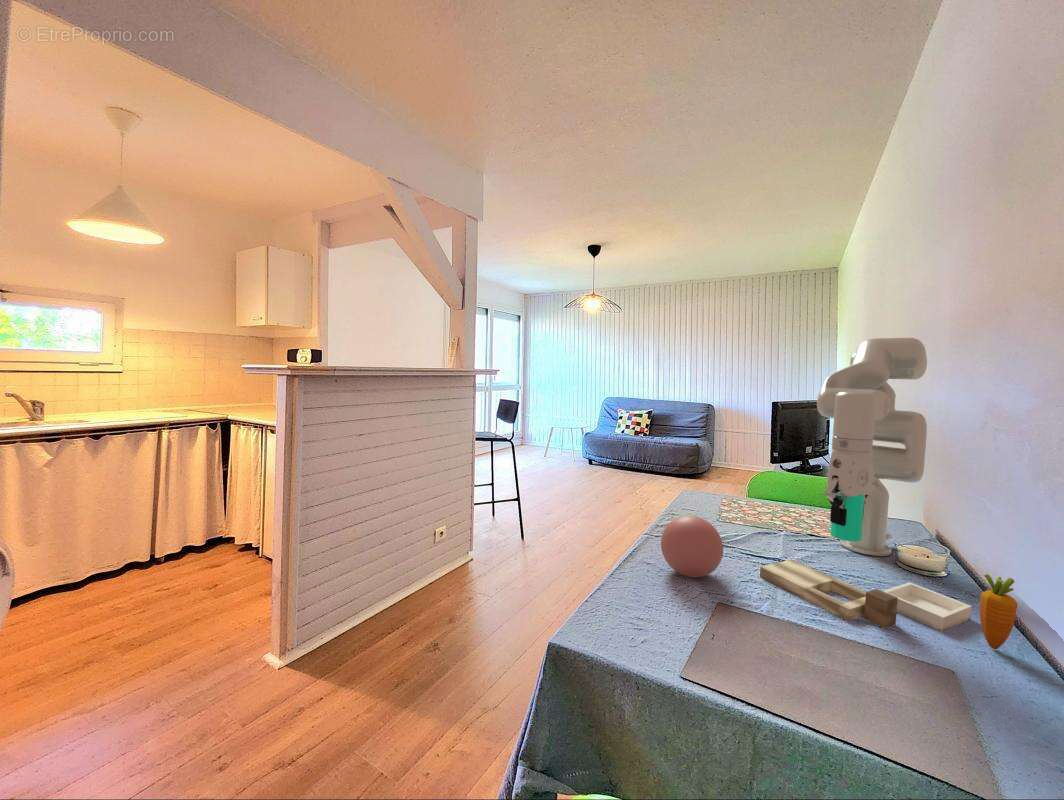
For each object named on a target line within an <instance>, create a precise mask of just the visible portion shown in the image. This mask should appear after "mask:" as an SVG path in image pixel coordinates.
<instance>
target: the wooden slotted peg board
mask: <svg viewBox="0 0 1064 800" xmlns="http://www.w3.org/2000/svg"><path fill="white" fill-rule="evenodd" d="M759 570H760V571H759V577H761V578H762V579H765V580H766V581H769V582H771V583H773V584H774V585H777V586H779V587H781V588H782V589H785V590H787V591H789V592H790V593H792V594H795V595H797V596H799V597H801V598H802V599H805V600H807V601H809V602H810V603H813V604H815V605H816V606H818V607H820V608H822V609H824V610H826V611H828V612H830V613H832V614H835V615H837V616H839V617H840V618H842V619H845V621H850V620H853V619H857V618H860V617H864V611H865V598H866V592H867V591H866V590H863V589H862V588H859V587H857V586H854V585H851V584H849V583H848V582H845V581H842V580H841V579H838V578H836V577H833V576H831V575H829V574H826V573H824V572H822V571H821V570H820V571H819V570H817V569H816V568H815V569H814V568H812V567H810V566H808V565H806V564H803V563H802V562H799V561H797V560H794V559H792V558H791V559H788V560H783V561H780V562H779V561H778V562H776V563H771V564H768V565H763V566H760V569H759ZM829 591H832V592H834V593H836V594H839V595H840V596H843V597H845V598H847V599H849V600H851V601H848V602H844V601H842V600H840V599H837V598H835V597H833V596H830V595H829V594H826V593H827V592H829Z"/></svg>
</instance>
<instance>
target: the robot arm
mask: <svg viewBox="0 0 1064 800" xmlns="http://www.w3.org/2000/svg"><path fill="white" fill-rule="evenodd" d="M927 359H928V358H927V351H926V348H925V345H924V343H923V342H922V341H921V340H920V339H918V338H914V337H879V338H878V337H877V338H870V339H867V340H864V341H861V343H859V345H858V347H857V348H856V351H855V352H854V353H853V354H852V355H851V356H850V362H849V363H850V364H849V366H847V367H844V368H842V369H839V370H838V371H836V372H834V373H832V374H830V375H829V376H827V378H825V380H824V381H823V384H822V385H821V388H820V390H819V393H818V396H817V398H816V399H817V401H816V408H817V411H818V413H819V414H820V415H821V416H823V417H825V418H828V419H833V426H832V439H831V450H832V451H831V455H830V459H829V465H828V472H827V481H826V483H827V484H826V486H827V488H826V490H825V492H824V496H825V497H826V498H827V500H828V502H829V506H830V514H829V515H830V518H829V520H830V523H831V522H832V523H835V524H838V525H841V526H845V525H846V515H847V509H844V508H845V505H846V497H855V496H860V495H864V506H863V522H862V538H861V540H860V541H846V540H841V539H839V543H840V544H839V545H841V546H843V547H844V548H846V549H847V550H850V551H853V552H855V553H859V554H862V555H863V554H864V555H867V556H872V557H873V556H875V557H885V556H886V557H889V556H890V555H891V554H892V548H891V547H890V545H887V544H886V541H887V540H890V539H891V540H892V537H893V536H892V534H891V533H890V532H887V528H888V527H887V525H888V517H889V513H888V512H889V504H890V503H889V502H890V494H889V491H888V489H887V487H886V486H885V485H884V483H883V482H882V481H881V480H890V481H897V482H904V483H912V484H913V483H918V482H920V481H921V480H922V478H923V475H924V472H925V464H926V463H925V459H926V450H927V449H926V446H927V437H928V436H927V433H928V431H927V430H928V428H927V427H928V425H927V420H926V418H925V416H924V415H923V414H922V413H920V412H917V411H912V410H911V411H910V410H896V408H895V405H896V391H895V390H894V388H893V387H892V386H891V385H890V384H889V383H888V381H889V380H912V381H913V380H918V379H920V378H922V377H924V375H925V373H926V372H927V371H926V370H927V366H928V360H927ZM873 442H882V443H883V442H884V443H891V444H892V443H894V444H901V445H903V446H904V447H905V448H901V447H891V446H884V445H878V444H877V445H876V444H875V445H874V443H873ZM838 492H841V493H842V494H839V493H838ZM836 496H840V497H842V498H841V501H840V500H839V498H837V497H836Z"/></svg>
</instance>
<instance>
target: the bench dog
mask: <svg viewBox="0 0 1064 800" xmlns="http://www.w3.org/2000/svg"><path fill="white" fill-rule="evenodd" d="M883 591H884V590H881V589H879V588H875V589H873V590H869V591H866V598H865V611H864V615H863V620H866V621H868V622H870V623H872V624H874V625H876V626H878V627H880V628H882V629H888V628H889V627H893V626H896V623H897V613H898V612H897V601H898V597H895V596H893V595H891V594H888V593H886V592H883ZM887 627H888V628H887Z"/></svg>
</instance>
